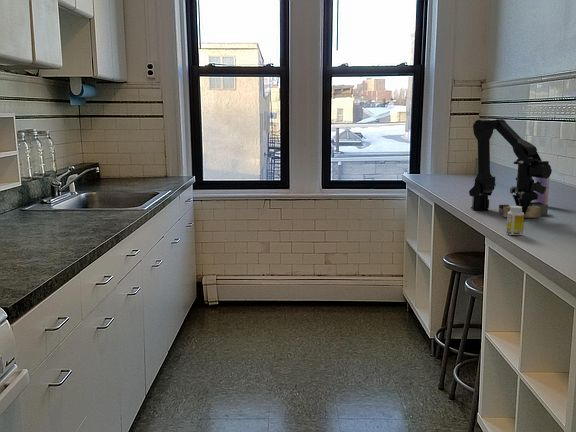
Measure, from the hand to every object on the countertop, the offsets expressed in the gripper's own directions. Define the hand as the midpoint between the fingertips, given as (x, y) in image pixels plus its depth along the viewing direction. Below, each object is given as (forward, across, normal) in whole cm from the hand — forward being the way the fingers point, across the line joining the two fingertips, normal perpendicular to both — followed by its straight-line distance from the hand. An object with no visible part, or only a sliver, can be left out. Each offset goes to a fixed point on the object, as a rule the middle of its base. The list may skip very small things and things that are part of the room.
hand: (521, 213), depth 239 cm
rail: (+1, 0, 0) cm, 1 cm away
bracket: (+2, +10, -8) cm, 13 cm away
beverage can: (+2, +30, -17) cm, 35 cm away
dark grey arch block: (+2, +10, +4) cm, 10 cm away
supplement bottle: (+2, -34, +12) cm, 36 cm away
